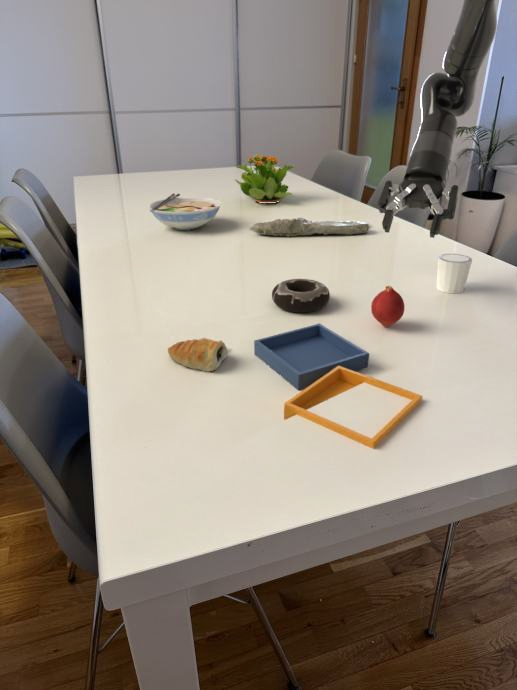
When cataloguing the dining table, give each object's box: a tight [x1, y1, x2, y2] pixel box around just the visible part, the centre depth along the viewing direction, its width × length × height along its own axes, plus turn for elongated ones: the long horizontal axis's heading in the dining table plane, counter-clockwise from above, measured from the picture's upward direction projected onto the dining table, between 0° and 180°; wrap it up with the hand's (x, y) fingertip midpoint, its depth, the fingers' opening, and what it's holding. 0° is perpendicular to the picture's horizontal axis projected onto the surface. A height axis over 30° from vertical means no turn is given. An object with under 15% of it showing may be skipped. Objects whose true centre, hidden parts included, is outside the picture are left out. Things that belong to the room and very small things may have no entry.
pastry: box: [167, 337, 228, 372], centre depth 83 cm, size 9×7×4 cm
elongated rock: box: [252, 217, 370, 238], centre depth 154 cm, size 35×5×10 cm
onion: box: [370, 285, 405, 328], centre depth 93 cm, size 6×6×8 cm
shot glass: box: [436, 252, 473, 294], centre depth 110 cm, size 7×7×7 cm
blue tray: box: [253, 323, 370, 391], centre depth 82 cm, size 13×13×3 cm
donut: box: [271, 278, 331, 314], centre depth 104 cm, size 12×12×4 cm
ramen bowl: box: [147, 193, 222, 231], centre depth 161 cm, size 25×23×8 cm
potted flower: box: [234, 153, 296, 202], centre depth 193 cm, size 25×24×18 cm
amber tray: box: [283, 366, 423, 449], centre depth 69 cm, size 13×13×3 cm
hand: (408, 232), depth 97 cm, fingers open, 8 cm apart
